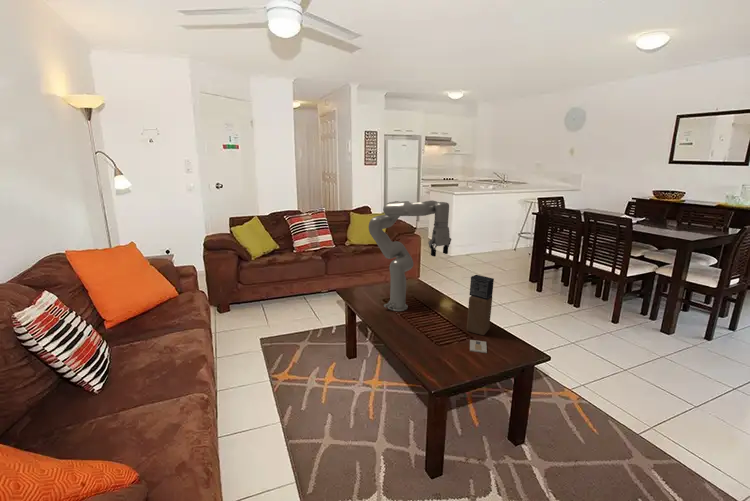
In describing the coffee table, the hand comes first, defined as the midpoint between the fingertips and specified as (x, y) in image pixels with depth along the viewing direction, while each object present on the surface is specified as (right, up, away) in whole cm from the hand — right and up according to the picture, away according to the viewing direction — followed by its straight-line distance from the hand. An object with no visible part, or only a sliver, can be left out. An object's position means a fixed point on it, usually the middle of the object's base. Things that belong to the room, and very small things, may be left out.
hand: (439, 254), depth 216 cm
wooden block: (+20, -42, -6) cm, 47 cm away
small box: (+20, -22, -11) cm, 32 cm away
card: (+15, -46, -24) cm, 54 cm away
